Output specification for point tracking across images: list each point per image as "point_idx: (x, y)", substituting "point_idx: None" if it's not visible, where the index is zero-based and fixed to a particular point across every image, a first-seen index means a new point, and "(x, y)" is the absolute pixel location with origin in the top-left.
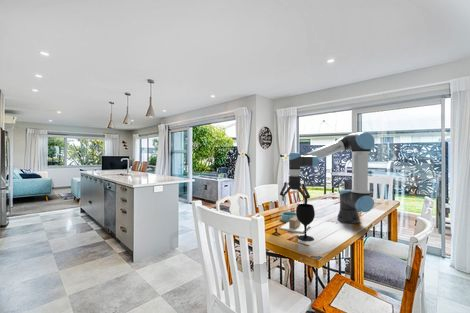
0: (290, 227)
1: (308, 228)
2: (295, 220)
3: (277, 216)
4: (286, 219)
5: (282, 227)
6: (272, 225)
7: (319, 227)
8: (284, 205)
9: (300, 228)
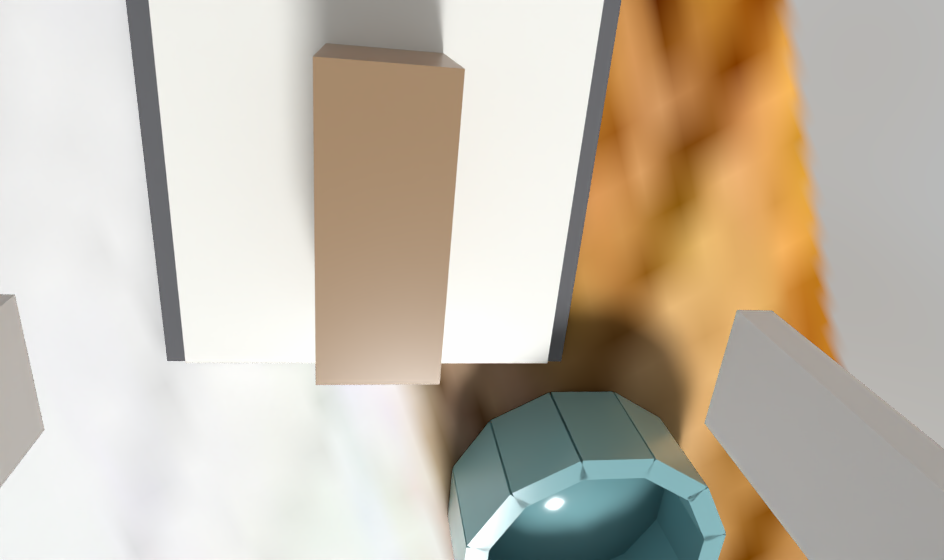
0: (421, 51)
1: (174, 269)
2: (313, 77)
3: (746, 552)
4: (594, 418)
5: (563, 14)
6: (750, 154)
7: (68, 427)
8: (754, 324)
9: (254, 128)
